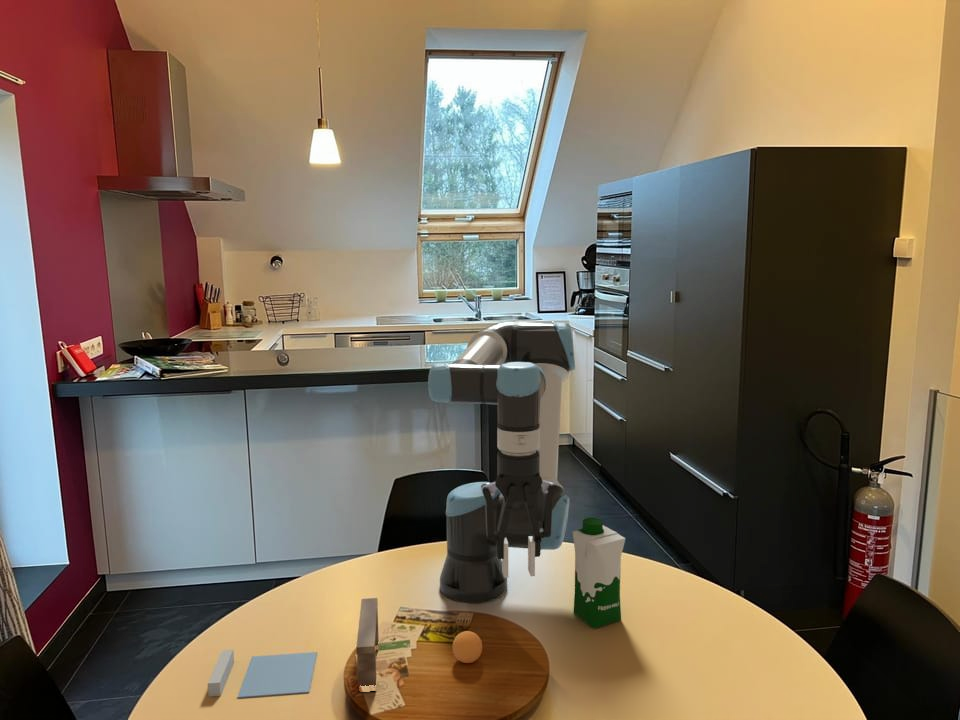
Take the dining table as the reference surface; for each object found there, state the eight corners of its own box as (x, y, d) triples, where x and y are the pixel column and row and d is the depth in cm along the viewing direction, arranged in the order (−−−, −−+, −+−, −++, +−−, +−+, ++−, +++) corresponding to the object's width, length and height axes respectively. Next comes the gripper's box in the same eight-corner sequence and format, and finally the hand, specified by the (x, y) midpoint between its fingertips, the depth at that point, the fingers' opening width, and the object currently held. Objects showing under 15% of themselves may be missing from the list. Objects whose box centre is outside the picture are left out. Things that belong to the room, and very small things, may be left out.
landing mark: (252, 657, 132) (251, 656, 132) (317, 652, 133) (317, 651, 133) (237, 698, 120) (237, 697, 120) (309, 692, 121) (309, 691, 121)
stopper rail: (223, 662, 130) (222, 650, 130) (234, 661, 130) (233, 649, 130) (208, 696, 120) (207, 683, 120) (220, 695, 121) (219, 682, 120)
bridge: (358, 697, 120) (356, 647, 119) (363, 643, 136) (361, 598, 135) (376, 695, 120) (374, 646, 119) (378, 642, 137) (377, 597, 135)
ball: (451, 653, 133) (451, 626, 132) (480, 651, 133) (480, 624, 132) (453, 670, 127) (453, 642, 126) (484, 668, 128) (483, 640, 127)
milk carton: (601, 602, 151) (602, 513, 148) (628, 621, 143) (630, 528, 140) (567, 612, 147) (568, 521, 144) (593, 633, 139) (595, 537, 136)
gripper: (472, 458, 120) (473, 586, 124) (571, 454, 122) (569, 580, 126) (468, 446, 127) (469, 567, 131) (561, 442, 129) (559, 561, 133)
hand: (518, 573), depth 129 cm, fingers open, 4 cm apart
